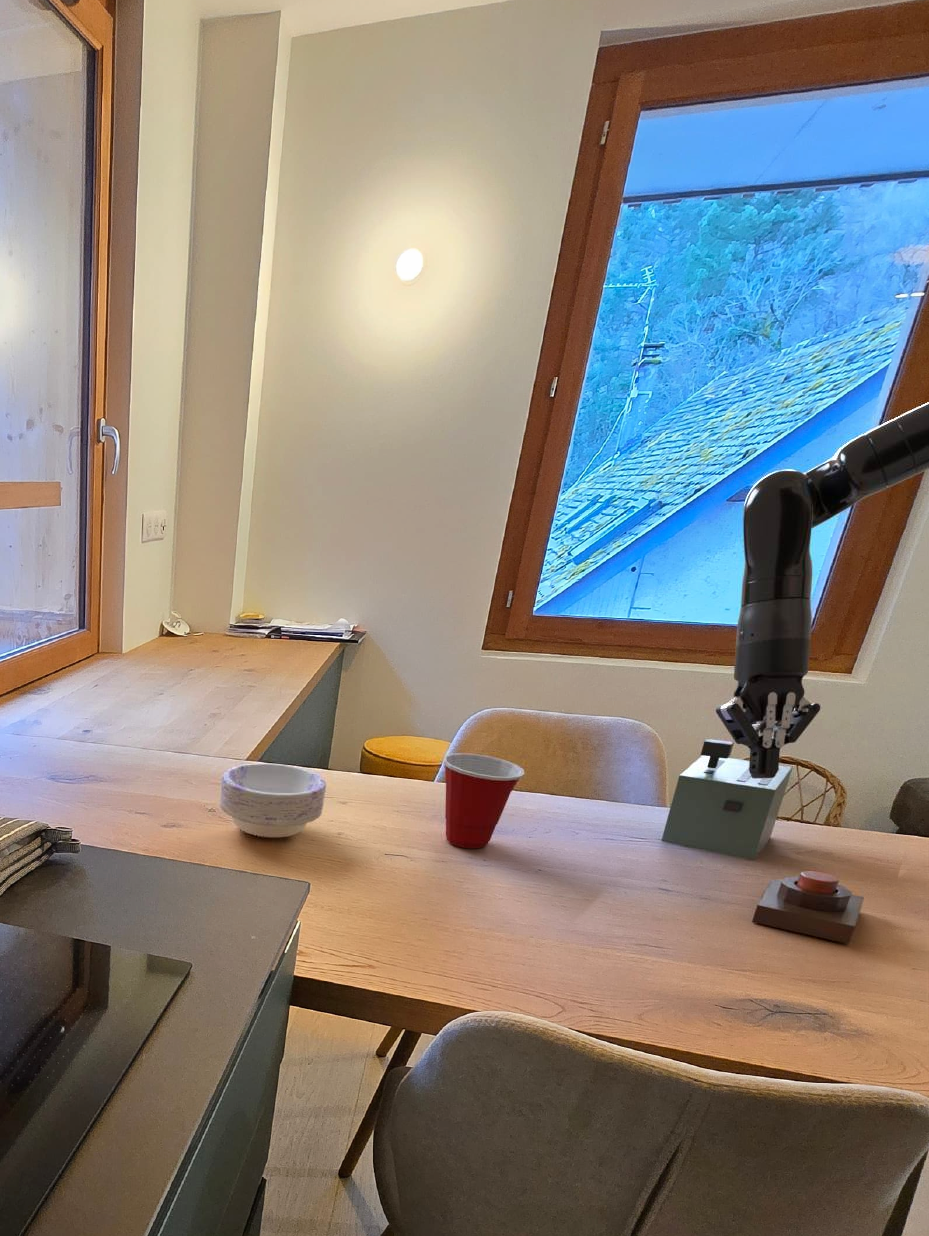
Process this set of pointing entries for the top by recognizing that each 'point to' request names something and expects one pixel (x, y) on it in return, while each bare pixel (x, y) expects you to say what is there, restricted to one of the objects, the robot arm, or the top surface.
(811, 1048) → the top surface
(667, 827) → the toaster
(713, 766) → the toaster slider
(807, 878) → the button
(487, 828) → the plastic cup
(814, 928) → the box
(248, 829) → the paper bowls
